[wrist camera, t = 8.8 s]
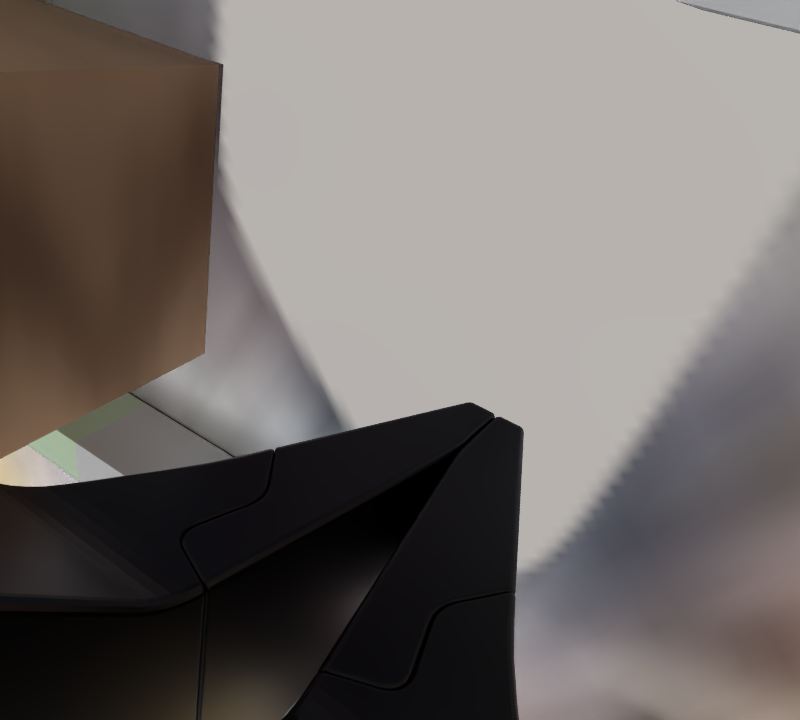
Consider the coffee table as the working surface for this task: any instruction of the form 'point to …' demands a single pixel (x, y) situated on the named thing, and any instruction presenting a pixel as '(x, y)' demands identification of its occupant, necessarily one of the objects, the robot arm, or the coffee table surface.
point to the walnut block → (97, 213)
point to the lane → (179, 447)
